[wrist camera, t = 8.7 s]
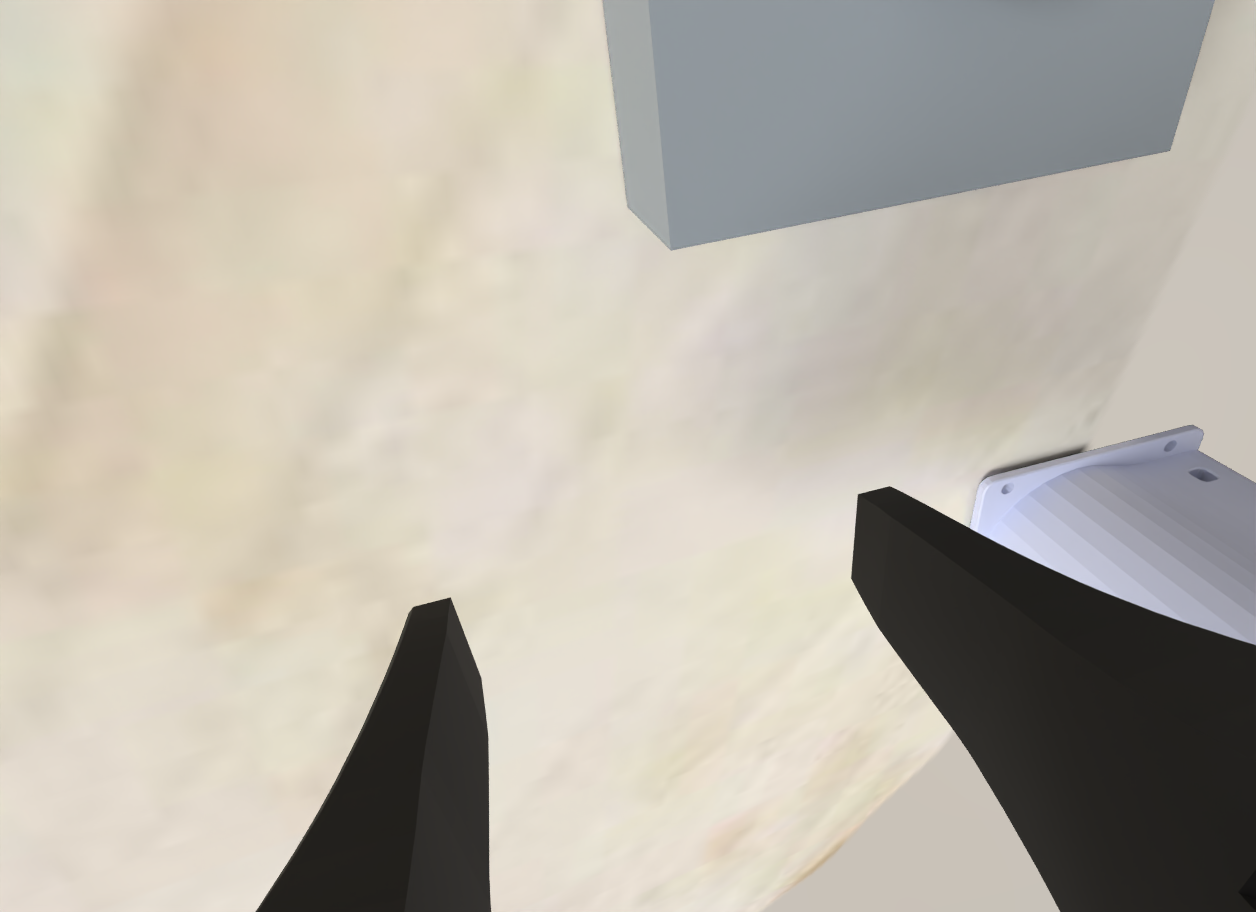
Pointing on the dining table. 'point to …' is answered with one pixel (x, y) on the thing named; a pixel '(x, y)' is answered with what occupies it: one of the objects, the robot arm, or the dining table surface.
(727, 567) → the dining table surface
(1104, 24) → the block
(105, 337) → the dining table surface
